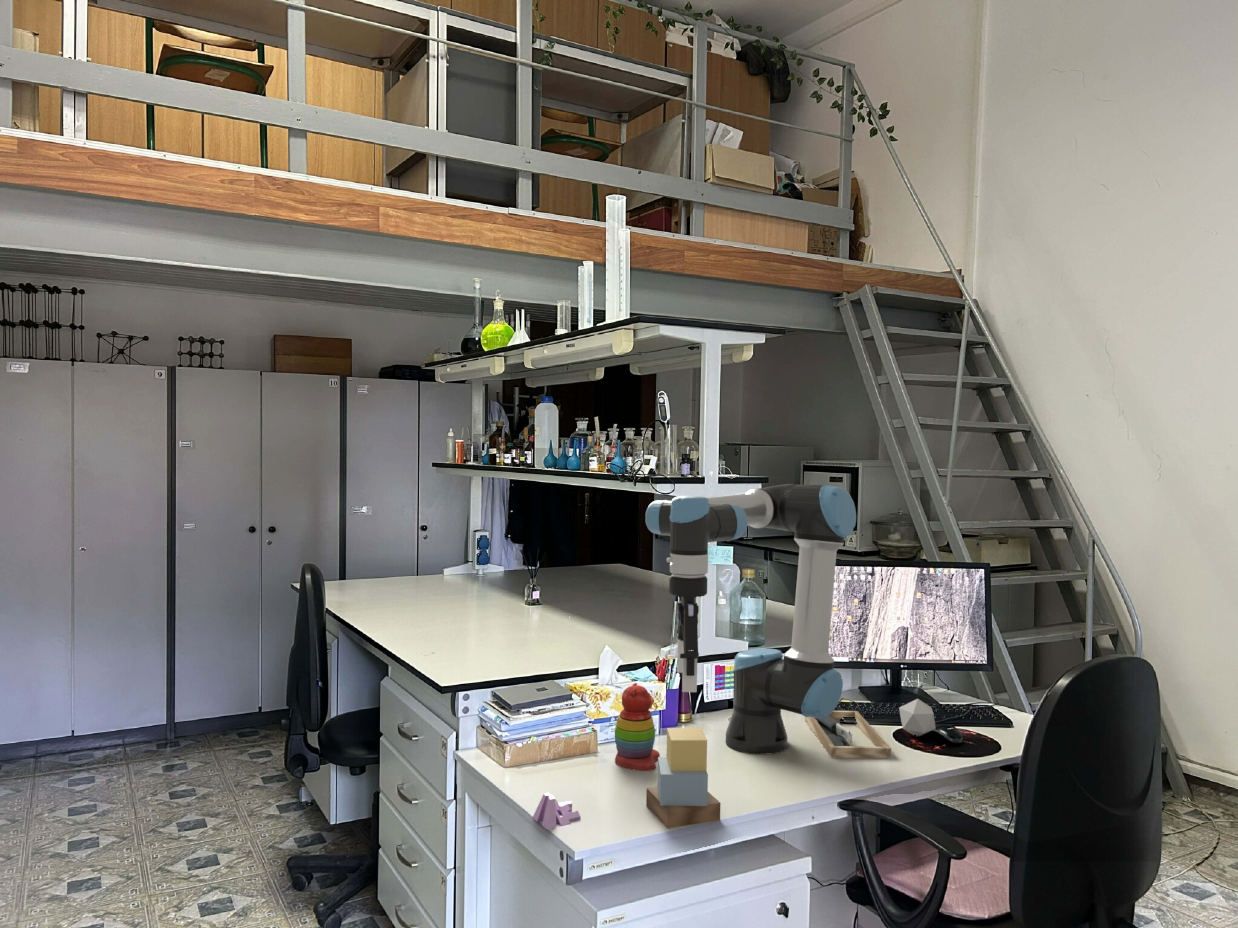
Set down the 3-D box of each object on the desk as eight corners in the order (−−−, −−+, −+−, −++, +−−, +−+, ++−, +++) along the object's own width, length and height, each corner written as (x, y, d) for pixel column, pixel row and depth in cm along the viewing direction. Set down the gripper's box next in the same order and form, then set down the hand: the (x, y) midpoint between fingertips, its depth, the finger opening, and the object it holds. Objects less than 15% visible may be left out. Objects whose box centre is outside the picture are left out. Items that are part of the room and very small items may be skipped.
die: (938, 735, 218) (939, 697, 217) (930, 745, 210) (931, 705, 210) (904, 729, 222) (905, 691, 222) (895, 739, 215) (896, 699, 214)
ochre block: (701, 757, 171) (701, 727, 171) (706, 770, 164) (707, 740, 164) (666, 757, 170) (667, 727, 170) (670, 770, 163) (671, 740, 163)
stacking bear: (653, 772, 190) (655, 693, 190) (609, 768, 192) (610, 690, 192) (661, 755, 201) (662, 680, 200) (619, 751, 203) (620, 677, 202)
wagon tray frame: (857, 721, 227) (857, 710, 227) (890, 760, 199) (890, 748, 199) (804, 721, 227) (805, 710, 227) (831, 759, 199) (831, 747, 199)
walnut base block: (696, 805, 174) (696, 780, 174) (719, 828, 164) (720, 802, 164) (646, 812, 170) (646, 787, 170) (667, 836, 160) (667, 810, 160)
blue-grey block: (702, 786, 171) (702, 757, 171) (707, 805, 162) (707, 774, 162) (657, 786, 171) (658, 756, 171) (660, 805, 162) (660, 774, 162)
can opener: (858, 753, 205) (858, 732, 204) (833, 754, 204) (833, 733, 204) (827, 727, 224) (828, 708, 223) (804, 727, 223) (804, 708, 223)
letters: (566, 813, 169) (566, 783, 169) (583, 826, 163) (583, 796, 163) (530, 822, 165) (530, 791, 165) (545, 836, 159) (546, 804, 159)
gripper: (665, 565, 180) (664, 664, 180) (673, 584, 155) (671, 700, 155) (701, 565, 180) (699, 665, 180) (714, 585, 155) (712, 700, 155)
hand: (686, 681), depth 168 cm, fingers open, 13 cm apart
